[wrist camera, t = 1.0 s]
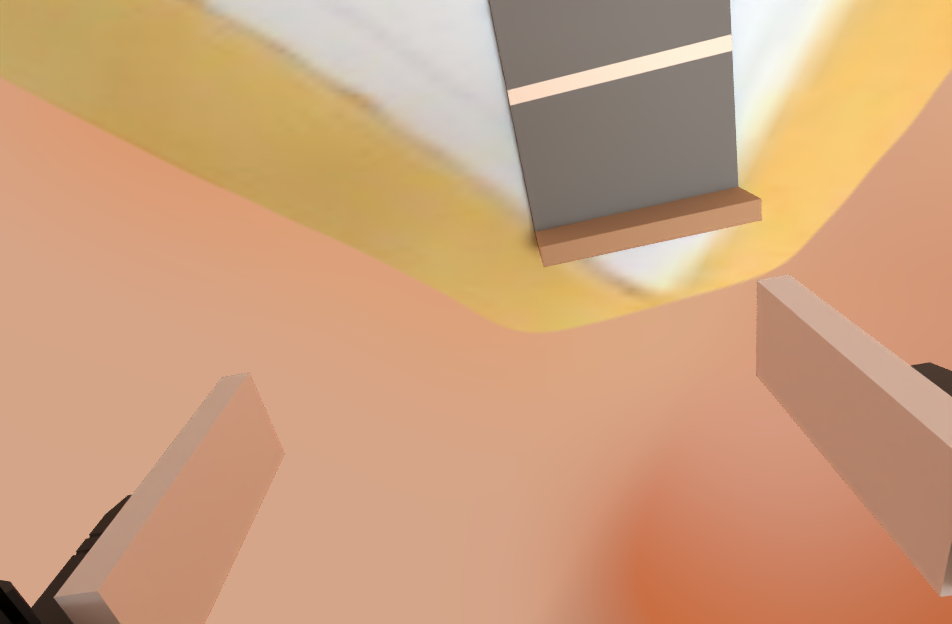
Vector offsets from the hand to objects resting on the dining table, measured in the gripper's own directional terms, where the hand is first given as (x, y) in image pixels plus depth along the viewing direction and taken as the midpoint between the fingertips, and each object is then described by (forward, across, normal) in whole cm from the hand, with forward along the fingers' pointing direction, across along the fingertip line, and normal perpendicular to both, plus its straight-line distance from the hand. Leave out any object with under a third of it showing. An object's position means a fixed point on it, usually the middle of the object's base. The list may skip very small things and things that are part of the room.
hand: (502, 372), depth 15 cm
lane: (+21, +8, +3) cm, 23 cm away
